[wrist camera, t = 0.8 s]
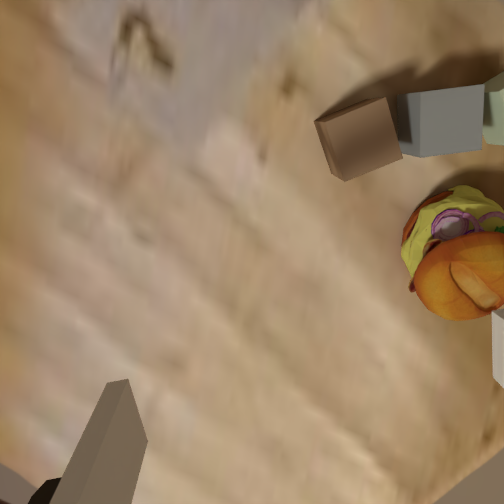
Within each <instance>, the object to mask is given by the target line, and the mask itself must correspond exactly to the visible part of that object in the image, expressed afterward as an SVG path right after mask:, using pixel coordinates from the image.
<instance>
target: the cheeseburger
mask: <svg viewBox="0 0 504 504" xmlns="http://www.w3.org/2000/svg"><path fill="white" fill-rule="evenodd" d="M401 257H402V259H403V260H404V262H405V264H406V266H407V269H408V271H409V272H410V274H411V277H412V279H411V280H410V282H409V286H408V289H409V290H410V292H415V291H416V293H417V296H418V297H419V298H420V300H421V301H422V302H423V304H424V305H425V306H426V307H427V309H428V310H430V311H431V312H433V313H435V314H437V315H438V316H440V317H442V318H444V319H447V320H454V321H462V320H470V319H476V318H479V317H483V316H485V315H488V314H490V313H492V311H494V310H497V309H498V308H499V307H501V306H502V305H503V304H504V210H503V209H502V207H501V206H500V205H498V204H497V203H496V202H494V201H493V200H491V199H489V198H486V197H484V195H483V193H482V192H481V191H479V190H478V189H475V188H472V187H470V186H468V185H459V186H455V187H454V188H450V189H448V191H447V192H443V193H441V194H439V195H436V196H434V197H432V198H430V199H428V200H427V201H426V202H424V203H423V204H422V205H421V206H420V207H419V208H418V209H417V210H416V211H415V212H414V213H413V214H412V216H411V217H410V219H409V221H408V222H407V224H406V226H405V227H404V229H403V238H402V248H401Z"/></svg>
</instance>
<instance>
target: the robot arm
mask: <svg viewBox="0 0 504 504" xmlns="http://www.w3.org/2000/svg"><path fill="white" fill-rule="evenodd" d="M492 353H493V378H494V379H495V380H496V381H497V382H498V383H499V384H500V385H501V386H502V387H503V388H504V309H499V310H494V311H492ZM147 442H148V440H147V437H146V434H145V430H144V427H143V424H142V421H141V418H140V415H139V412H138V408H137V405H136V402H135V399H134V396H133V393H132V390H131V386H130V383H129V380H128V379H125V380H120V381H114V382H109V383H107V384H106V386H105V388H104V391H103V393H102V395H101V397H100V399H99V401H98V403H97V405H96V407H95V409H94V411H93V414H92V416H91V418H90V420H89V422H88V424H87V426H86V428H85V430H84V432H83V434H82V436H81V439H80V441H79V443H78V445H77V447H76V449H75V451H74V453H73V455H72V457H71V459H70V462H69V464H68V466H67V468H66V470H65V472H64V474H63V476H62V477H61V478H56V479H50V480H46V481H45V483H44V484H43V485H42V486H41V487H40V488H39V489H38V490H37V491H36V492H35V494H34V495H33V496H32V497H31V499H30V501H29V503H28V504H131V503H132V499H133V495H134V491H135V487H136V484H137V480H138V476H139V472H140V469H141V465H142V461H143V457H144V454H145V450H146V446H147Z"/></svg>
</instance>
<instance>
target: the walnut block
mask: <svg viewBox="0 0 504 504" xmlns="http://www.w3.org/2000/svg"><path fill="white" fill-rule="evenodd" d="M314 124H315V127H316V130H317V133H318V136H319V139H320V142H321V145H322V147H323V150H324V153H325V156H326V159H327V162H328V165H329V168H330V171H331V174H333V175H334V176H336V177H338V178H339V179H341V180H343V181H344V182H345V181H348V180H350V179H353V178H355V177H358V176H360V175H363V174H365V173H368V172H370V171H372V170H375V169H377V168H380V167H382V166H385V165H387V164H390V163H392V162H395V161H397V160H400V159H402V158H403V156H402V153H401V149H400V146H399V142H398V138H397V135H396V131H395V128H394V124H393V121H392V117H391V113H390V110H389V106H388V103H387V99H386V97H382V98H373V99H366V100H364V101H361V102H359V103H357V104H354V105H352V106H349V107H347V108H345V109H342V110H340V111H337V112H335V113H332V114H330V115H328V116H325V117H323V118H320V119H318V120H316V121H314Z"/></svg>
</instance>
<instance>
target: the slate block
mask: <svg viewBox="0 0 504 504" xmlns="http://www.w3.org/2000/svg"><path fill="white" fill-rule="evenodd" d="M484 87H485V84H481V85H472V86H464V87H456V88H448V89H440V90H432V91H424V92H416V93H408V94H400V95H397V116H398V142H399V146H400V149H401V153H403V154H407V155H411V156H416V157H420V158H421V157H429V156H437V155H445V154H453V153H461V152H468V151H476V150H482V129H483V108H484Z"/></svg>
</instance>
